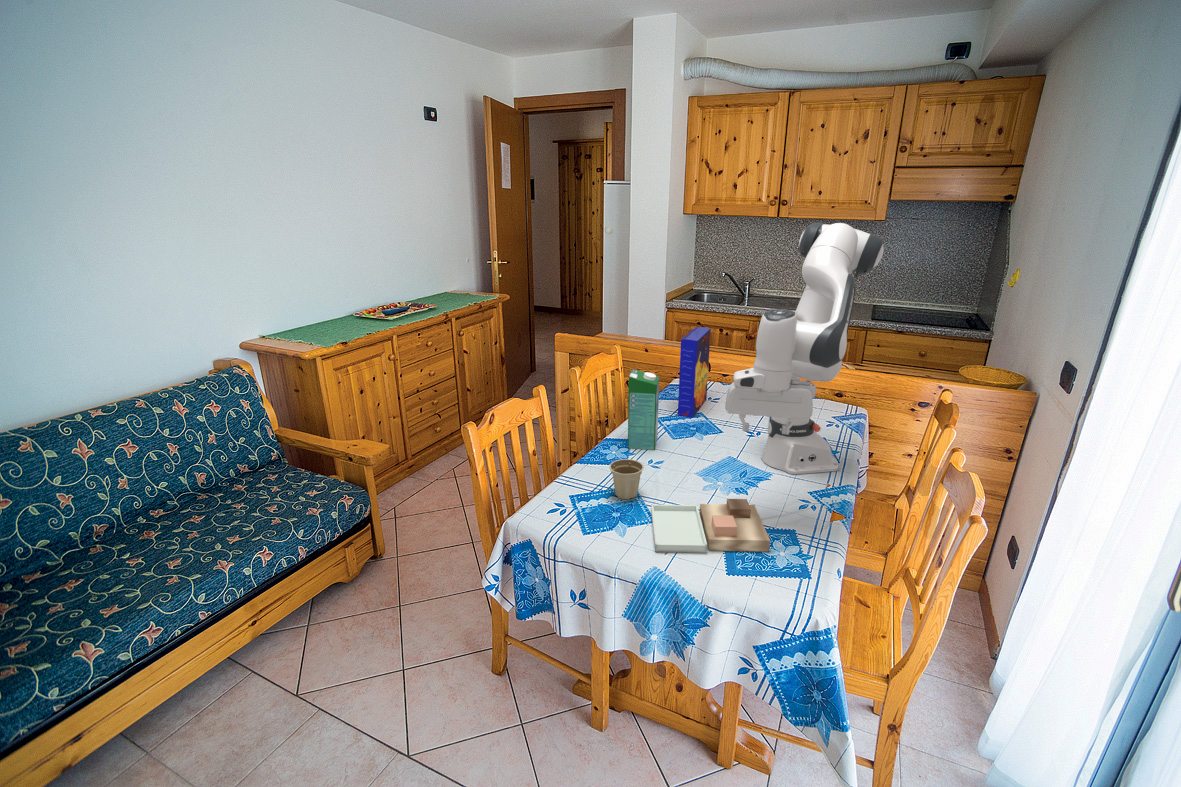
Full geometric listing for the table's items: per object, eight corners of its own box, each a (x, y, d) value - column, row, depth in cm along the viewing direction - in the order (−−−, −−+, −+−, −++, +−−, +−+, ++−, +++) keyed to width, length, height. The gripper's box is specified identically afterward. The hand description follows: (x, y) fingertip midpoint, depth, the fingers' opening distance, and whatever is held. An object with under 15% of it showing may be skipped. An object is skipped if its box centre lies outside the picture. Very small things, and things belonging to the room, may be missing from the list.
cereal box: (693, 417, 209) (697, 340, 199) (677, 415, 212) (681, 338, 202) (706, 399, 228) (710, 327, 218) (692, 397, 230) (695, 326, 220)
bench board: (753, 514, 145) (754, 504, 144) (768, 551, 130) (770, 540, 129) (699, 513, 146) (699, 503, 145) (708, 550, 131) (709, 539, 130)
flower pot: (607, 486, 160) (607, 459, 157) (640, 484, 161) (640, 457, 158) (611, 503, 151) (611, 475, 148) (645, 501, 152) (646, 473, 149)
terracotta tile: (732, 524, 135) (732, 515, 135) (736, 536, 131) (736, 527, 130) (711, 524, 136) (712, 515, 135) (714, 535, 131) (715, 526, 130)
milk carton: (655, 450, 183) (657, 377, 174) (627, 448, 185) (628, 376, 176) (657, 439, 191) (659, 369, 183) (631, 437, 193) (632, 368, 185)
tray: (696, 511, 147) (697, 505, 146) (707, 552, 130) (707, 545, 129) (651, 511, 147) (651, 504, 147) (655, 551, 130) (655, 544, 130)
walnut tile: (745, 507, 143) (746, 499, 142) (750, 518, 138) (751, 509, 137) (726, 507, 143) (726, 498, 142) (729, 517, 138) (730, 509, 137)
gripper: (814, 377, 134) (807, 430, 138) (727, 372, 138) (722, 424, 142) (820, 385, 128) (811, 440, 132) (729, 379, 132) (723, 433, 136)
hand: (765, 432), depth 137 cm, fingers open, 8 cm apart
